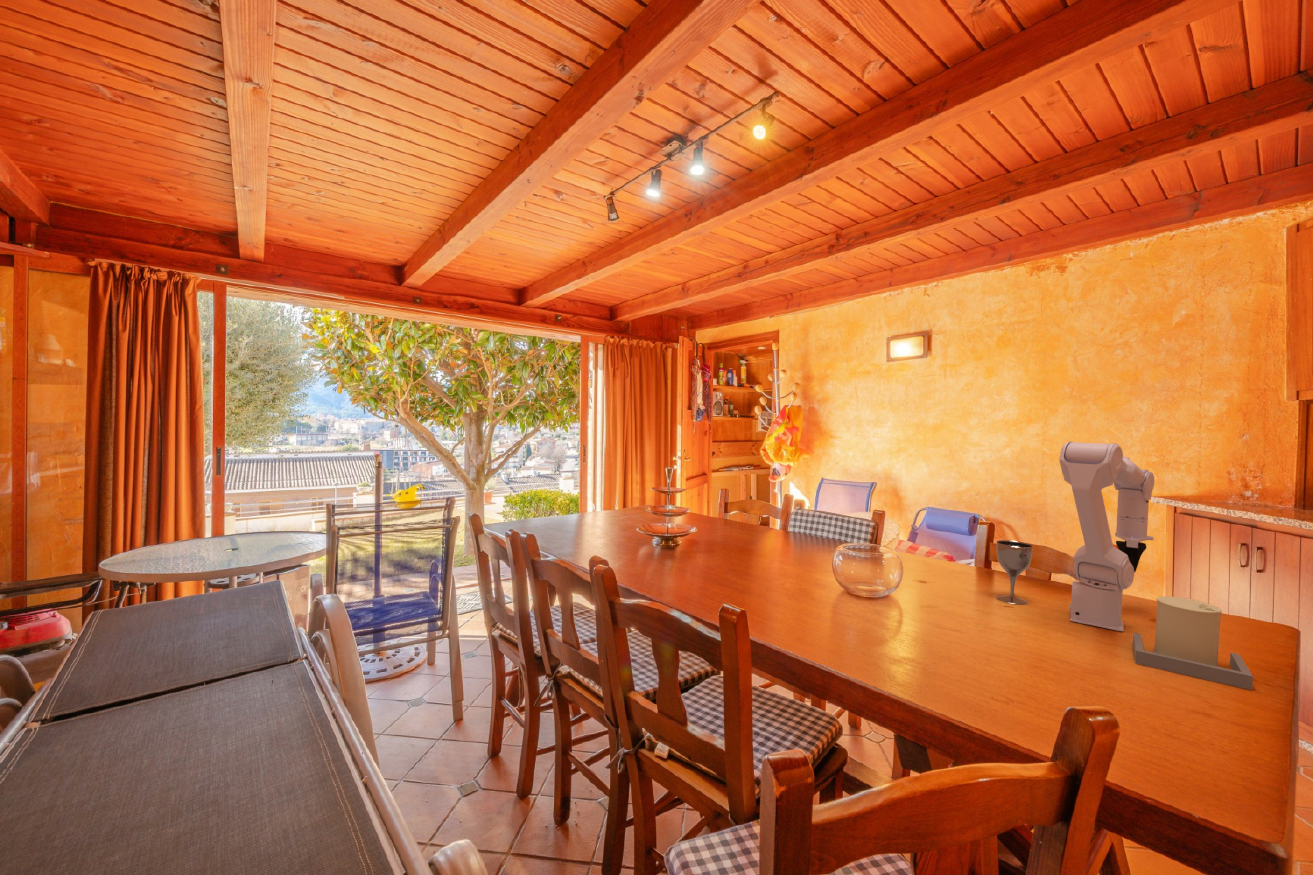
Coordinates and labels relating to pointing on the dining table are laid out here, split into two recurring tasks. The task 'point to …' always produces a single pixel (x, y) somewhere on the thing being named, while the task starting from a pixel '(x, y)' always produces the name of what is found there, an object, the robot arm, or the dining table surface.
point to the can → (1187, 629)
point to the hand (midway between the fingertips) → (1129, 571)
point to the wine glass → (1013, 564)
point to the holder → (1195, 666)
